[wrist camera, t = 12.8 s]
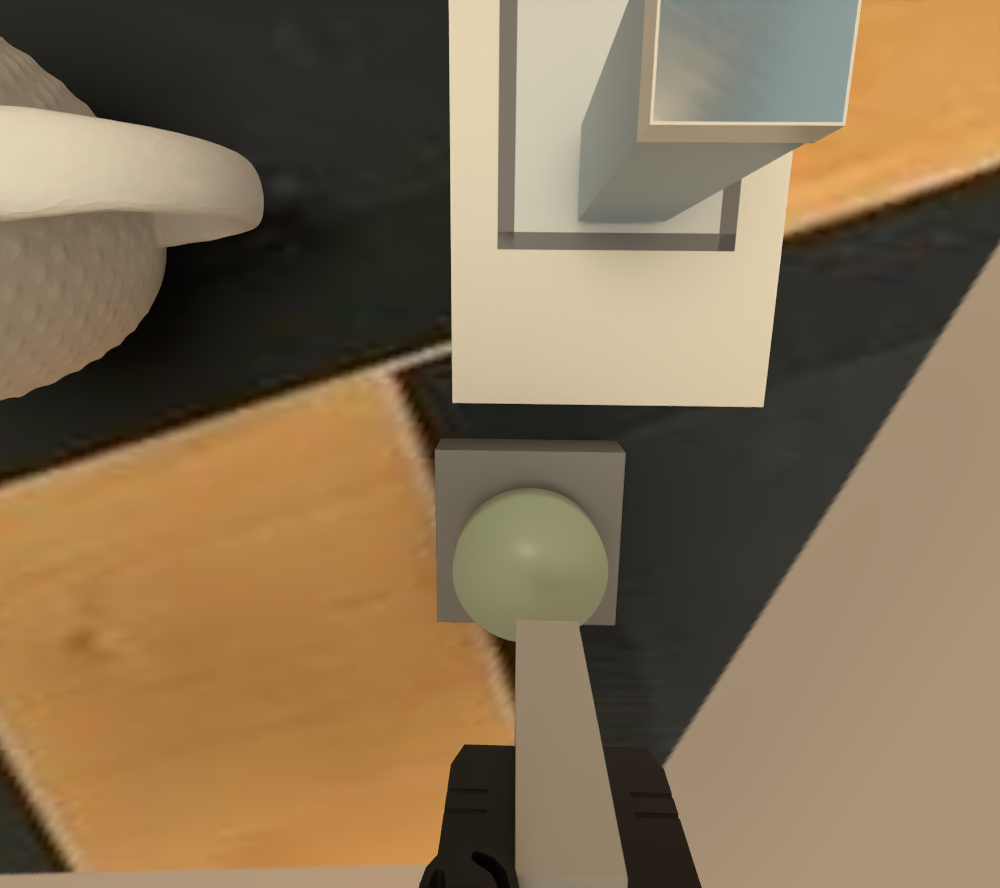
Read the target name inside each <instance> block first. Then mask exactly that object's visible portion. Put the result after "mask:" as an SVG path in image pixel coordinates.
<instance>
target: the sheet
mask: <svg viewBox="0 0 1000 888" xmlns="http://www.w3.org/2000/svg"><path fill="white" fill-rule="evenodd" d="M628 1H629V0H449V66H450V183H451V300H452V403H500V404H574V405H648V406H722V407H763V406H764V397H765V389H766V380H767V371H768V363H769V354H770V345H771V337H772V328H773V320H774V311H775V302H776V294H777V285H778V276H779V268H780V259H781V250H782V242H783V233H784V224H785V216H786V207H787V198H788V190H789V181H790V172H791V164H792V155H793V150H792V151H790V152H788V153H787V154H785V155H783V156H781V157H780V158H778V159H776V160H774V161H772V162H771V163H769V164H767V165H765V166H763V167H762V168H760V169H758V170H756V171H755V172H753V173H751V174H749V175H747V176H746V177H744V178H742V179H740V180H739V181H737V182H735V183H733V184H731V185H730V186H728V187H726V188H724V189H723V190H721V191H719V192H717V193H715V194H714V195H712V196H710V197H708V198H707V199H705V200H703V201H701V202H699V203H698V204H696V205H694V206H692V207H690V208H689V209H687V210H685V211H683V212H682V213H680V214H678V215H676V216H674V217H673V218H671V219H669V220H667V221H666V222H635V221H578V198H579V172H580V146H581V125H582V122H583V120H584V117H585V114H586V112H587V109H588V106H589V104H590V101H591V98H592V96H593V93H594V91H595V88H596V85H597V83H598V80H599V77H600V75H601V72H602V69H603V67H604V64H605V62H606V59H607V56H608V54H609V51H610V48H611V46H612V43H613V40H614V38H615V35H616V33H617V30H618V27H619V25H620V22H621V19H622V17H623V14H624V11H625V9H626V6H627V4H628Z"/></svg>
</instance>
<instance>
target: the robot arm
mask: <svg viewBox="0 0 1000 888" xmlns="http://www.w3.org/2000/svg"><path fill="white" fill-rule="evenodd" d="M419 888H702V887H701V884H700V881H699V878H698V875H697V872H696V869H695V866H694V862H693V859H692V856H691V853H690V850H689V847H688V843H687V840H686V838H685V834H684V831H683V828H682V825H681V822H680V819H679V818H678V812H677V809H676V806H675V803H674V799H673V798H672V794H671V790H670V787H669V784H668V781H667V777H666V775H665V771H664V769H663V768H662V766H661V765H660V764H659V763H658V761H657V760H656V759H655V758H654V757H653V755H652V754H651V753H650V752H649V751H648V749H647V748H625V747H602V743H601V738H600V733H599V727H598V722H597V717H596V712H595V707H594V702H593V696H592V691H591V686H590V681H589V676H588V671H587V665H586V660H585V655H584V650H583V645H582V640H581V634H580V629H579V624H578V621H538V620H516V672H515V740H514V746H499V745H466V744H465V745H464V746H463V748H462V749H461V751H460V752H459V753H458V755H457V756H456V758H455V759H454V761H453V762H452V764H451V768H450V775H449V782H448V790H447V796H446V802H445V812H444V816H443V823H442V830H441V837H440V843H439V850H438V855H437V856H436V857H435V858H434V859H433V860H432V861H431V863H430V864H429V865H428V866H427V867H426V869H425V872H424V874H423V877H422V880H421V882H420V885H419Z"/></svg>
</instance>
